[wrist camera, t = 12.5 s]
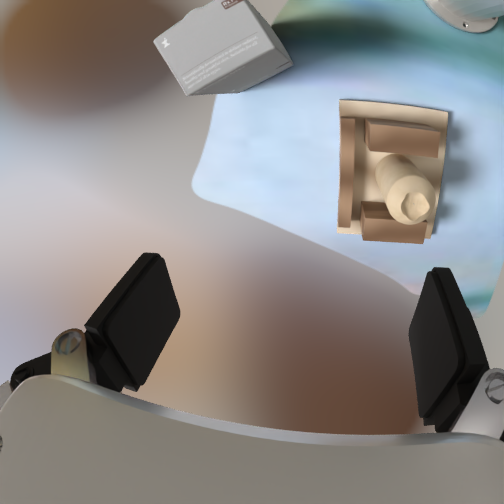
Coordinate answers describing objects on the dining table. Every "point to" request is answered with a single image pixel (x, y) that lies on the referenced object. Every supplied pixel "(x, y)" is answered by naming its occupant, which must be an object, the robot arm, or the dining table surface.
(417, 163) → the holder
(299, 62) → the dining table surface
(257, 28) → the skincare box
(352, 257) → the dining table surface
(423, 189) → the candle
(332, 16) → the dining table surface
